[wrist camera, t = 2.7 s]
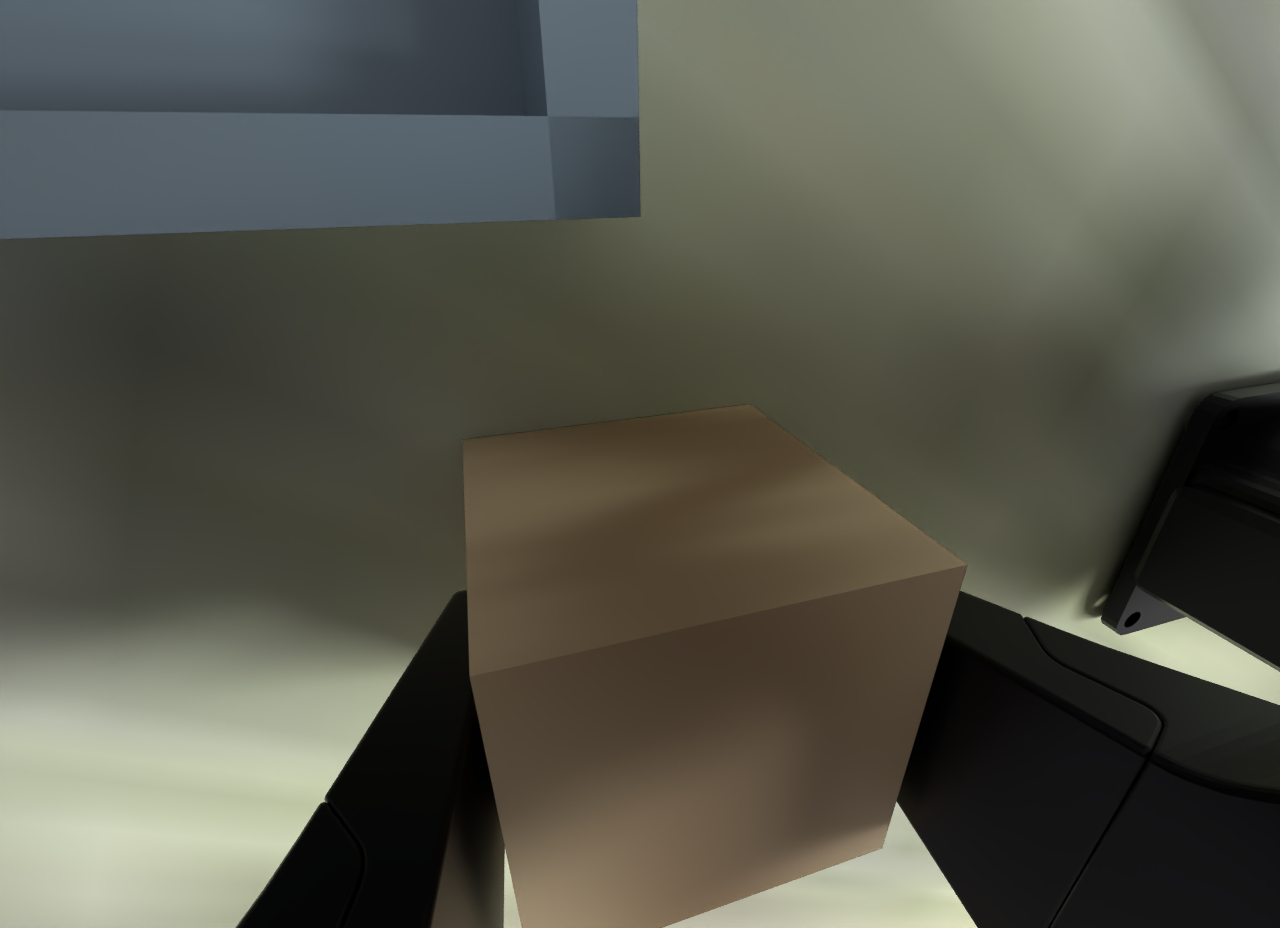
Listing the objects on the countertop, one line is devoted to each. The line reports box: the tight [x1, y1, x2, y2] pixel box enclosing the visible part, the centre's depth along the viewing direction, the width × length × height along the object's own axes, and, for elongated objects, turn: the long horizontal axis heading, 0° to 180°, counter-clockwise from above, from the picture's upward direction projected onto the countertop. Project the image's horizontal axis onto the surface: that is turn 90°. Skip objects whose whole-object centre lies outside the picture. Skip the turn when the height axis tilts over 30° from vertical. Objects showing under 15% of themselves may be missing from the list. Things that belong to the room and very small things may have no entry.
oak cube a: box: [463, 404, 967, 928], centre depth 8 cm, size 4×4×4 cm
